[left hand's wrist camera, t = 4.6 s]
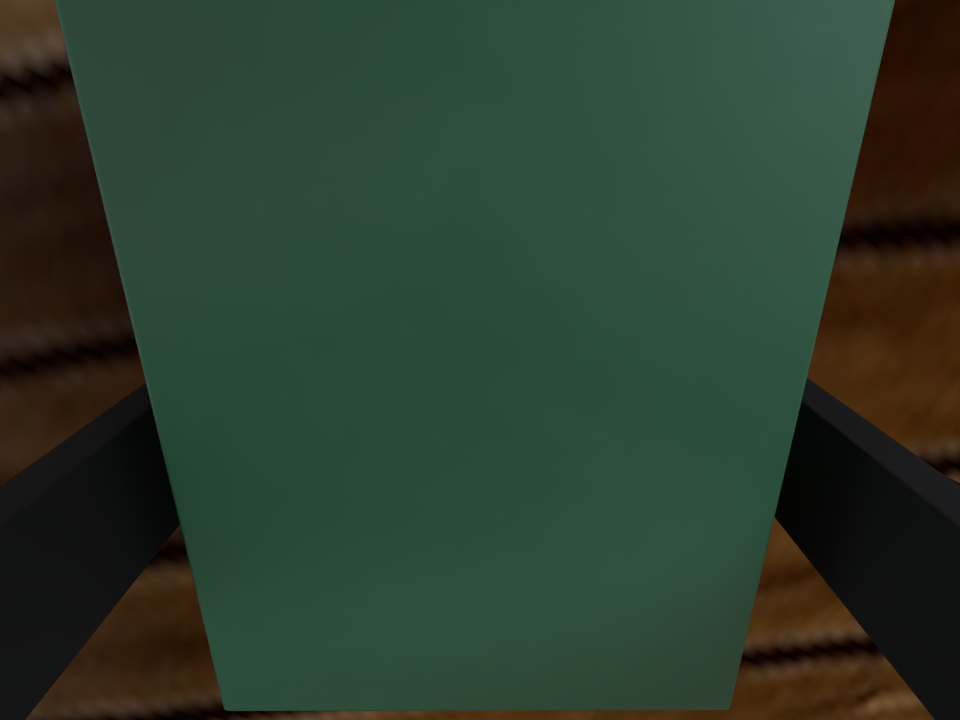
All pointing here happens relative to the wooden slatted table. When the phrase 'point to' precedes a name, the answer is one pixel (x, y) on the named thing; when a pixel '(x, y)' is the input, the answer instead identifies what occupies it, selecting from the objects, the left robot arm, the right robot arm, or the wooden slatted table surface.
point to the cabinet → (475, 325)
